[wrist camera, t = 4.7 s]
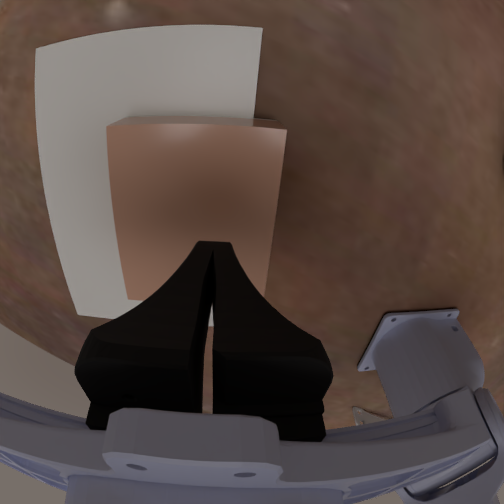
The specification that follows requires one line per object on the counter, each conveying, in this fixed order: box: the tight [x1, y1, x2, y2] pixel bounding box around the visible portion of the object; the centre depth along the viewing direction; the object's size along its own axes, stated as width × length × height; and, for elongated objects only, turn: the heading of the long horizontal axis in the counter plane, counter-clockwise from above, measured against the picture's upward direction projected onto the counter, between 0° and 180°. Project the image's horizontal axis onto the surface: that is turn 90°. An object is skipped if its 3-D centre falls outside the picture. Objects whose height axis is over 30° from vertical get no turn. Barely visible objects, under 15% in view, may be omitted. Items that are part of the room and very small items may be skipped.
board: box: [35, 25, 263, 326], centre depth 17 cm, size 13×20×1 cm, turn 175°
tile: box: [106, 115, 287, 301], centre depth 16 cm, size 3×10×8 cm
